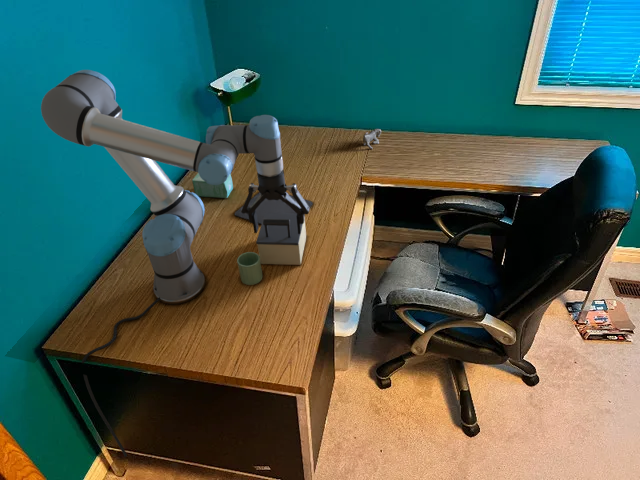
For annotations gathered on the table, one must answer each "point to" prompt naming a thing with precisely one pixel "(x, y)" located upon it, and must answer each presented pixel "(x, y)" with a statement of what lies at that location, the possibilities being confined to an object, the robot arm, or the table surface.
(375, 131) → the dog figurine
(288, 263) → the open square bin
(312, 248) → the table surface
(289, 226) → the bin lid
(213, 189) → the box
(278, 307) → the table surface
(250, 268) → the green cup
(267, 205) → the mouse pad
